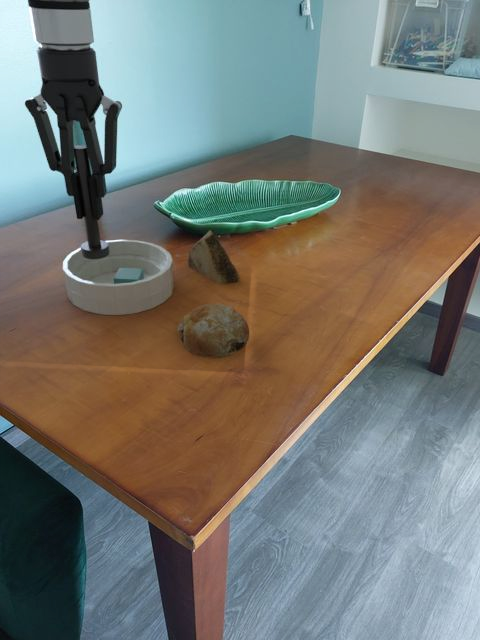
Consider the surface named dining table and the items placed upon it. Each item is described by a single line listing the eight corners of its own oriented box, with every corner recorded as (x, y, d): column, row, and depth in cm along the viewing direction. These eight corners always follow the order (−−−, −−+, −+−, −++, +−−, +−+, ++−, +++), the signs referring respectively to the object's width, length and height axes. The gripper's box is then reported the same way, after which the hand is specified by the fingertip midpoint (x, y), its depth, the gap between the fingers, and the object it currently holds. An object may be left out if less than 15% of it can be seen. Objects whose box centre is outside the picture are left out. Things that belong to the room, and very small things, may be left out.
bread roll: (210, 385, 78) (230, 353, 73) (160, 339, 79) (176, 304, 74) (248, 354, 85) (268, 322, 80) (201, 312, 86) (218, 278, 81)
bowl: (53, 316, 85) (46, 282, 81) (85, 267, 99) (81, 237, 96) (164, 322, 85) (162, 288, 82) (180, 272, 100) (179, 242, 96)
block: (116, 300, 88) (113, 278, 86) (121, 288, 92) (119, 267, 89) (140, 301, 89) (138, 279, 86) (144, 289, 92) (143, 268, 90)
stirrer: (78, 258, 86) (60, 150, 77) (86, 247, 90) (70, 142, 80) (105, 260, 86) (91, 151, 77) (112, 248, 90) (99, 143, 80)
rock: (171, 256, 100) (181, 272, 91) (197, 217, 98) (209, 230, 90) (217, 284, 105) (231, 302, 97) (242, 248, 104) (258, 263, 95)
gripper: (128, 46, 74) (142, 210, 88) (19, 40, 74) (51, 205, 88) (115, 52, 68) (132, 227, 81) (-4, 46, 68) (34, 222, 81)
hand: (90, 216), depth 84 cm, fingers closed on stirrer, 2 cm apart
